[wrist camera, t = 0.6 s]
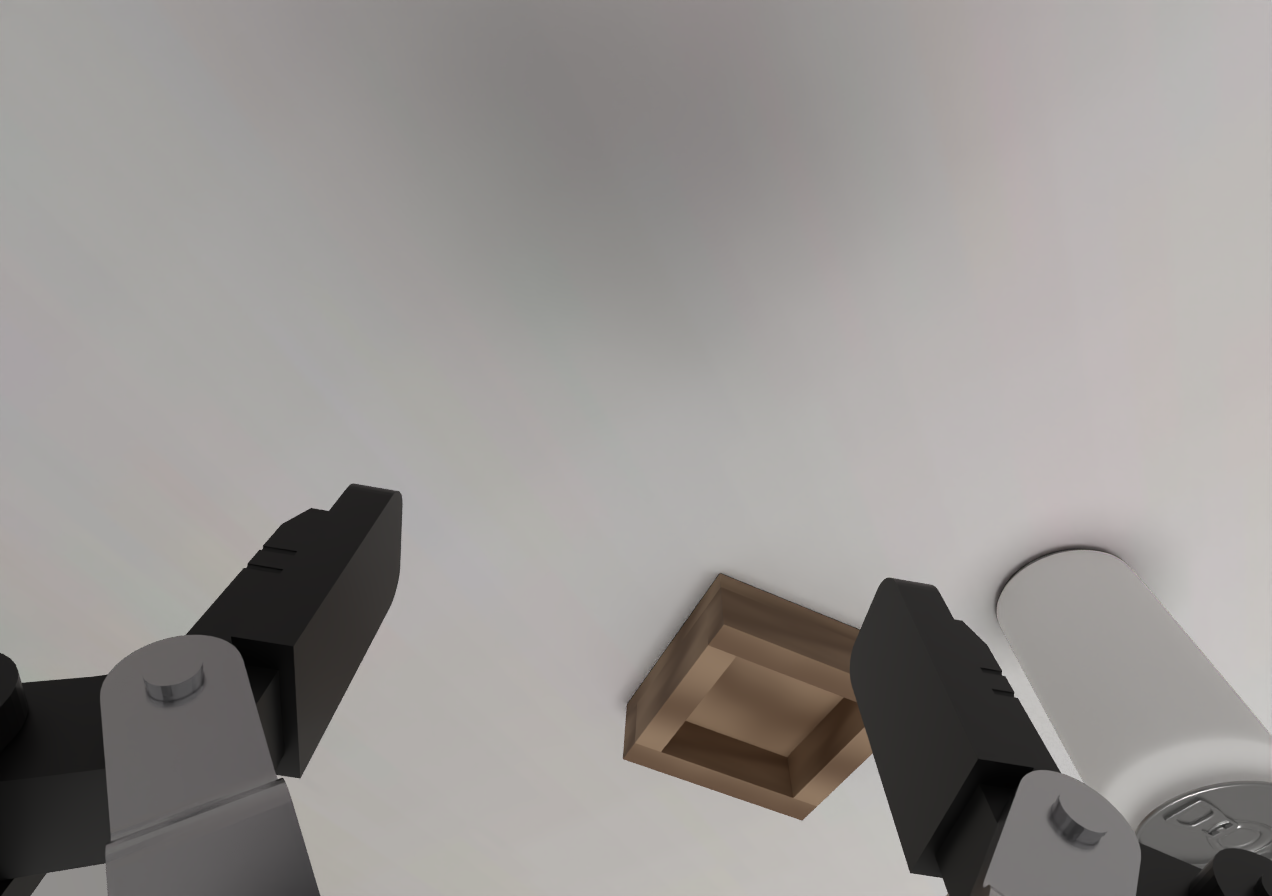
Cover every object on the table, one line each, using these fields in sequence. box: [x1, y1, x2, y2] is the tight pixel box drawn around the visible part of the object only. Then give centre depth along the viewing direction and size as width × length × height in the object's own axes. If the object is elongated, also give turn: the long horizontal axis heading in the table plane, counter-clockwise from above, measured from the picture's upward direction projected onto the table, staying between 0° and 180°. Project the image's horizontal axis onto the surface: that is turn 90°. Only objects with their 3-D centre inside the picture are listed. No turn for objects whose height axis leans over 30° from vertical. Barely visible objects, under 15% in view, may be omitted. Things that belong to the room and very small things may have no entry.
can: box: [997, 549, 1272, 869], centre depth 30 cm, size 6×6×12 cm
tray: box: [623, 574, 873, 820], centre depth 37 cm, size 11×11×4 cm
